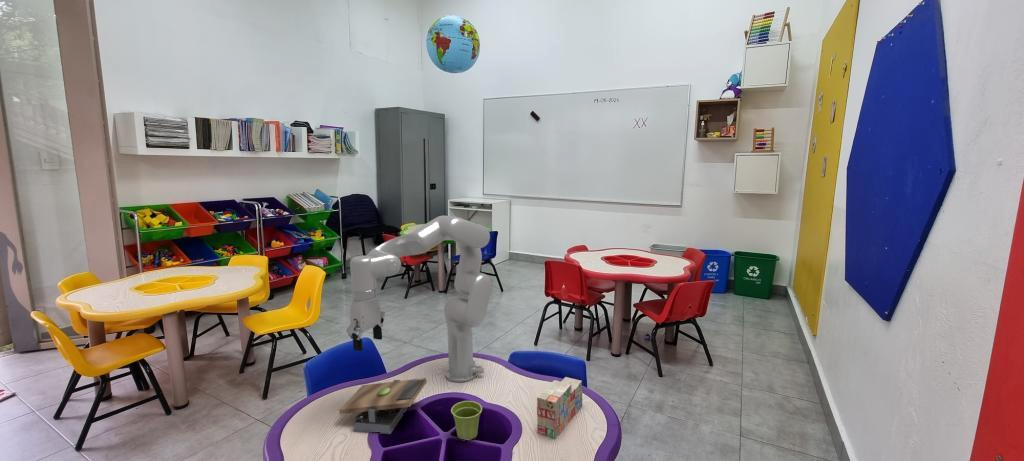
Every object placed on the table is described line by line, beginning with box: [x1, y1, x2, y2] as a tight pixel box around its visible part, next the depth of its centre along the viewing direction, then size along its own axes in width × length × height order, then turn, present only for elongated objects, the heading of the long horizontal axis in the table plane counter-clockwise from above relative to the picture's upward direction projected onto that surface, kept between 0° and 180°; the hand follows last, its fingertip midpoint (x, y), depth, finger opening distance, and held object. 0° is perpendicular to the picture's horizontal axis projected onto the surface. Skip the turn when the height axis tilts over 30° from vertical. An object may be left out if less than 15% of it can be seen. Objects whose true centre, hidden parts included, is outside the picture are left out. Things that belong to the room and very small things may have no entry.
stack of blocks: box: [536, 376, 583, 440], centre depth 144 cm, size 21×6×12 cm, turn 149°
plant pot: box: [450, 400, 483, 441], centre depth 137 cm, size 9×9×9 cm
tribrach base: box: [353, 379, 409, 435], centre depth 149 cm, size 12×21×7 cm, turn 172°
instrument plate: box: [338, 377, 428, 415], centre depth 149 cm, size 24×16×4 cm, turn 81°
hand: (368, 344), depth 147 cm, fingers open, 9 cm apart
